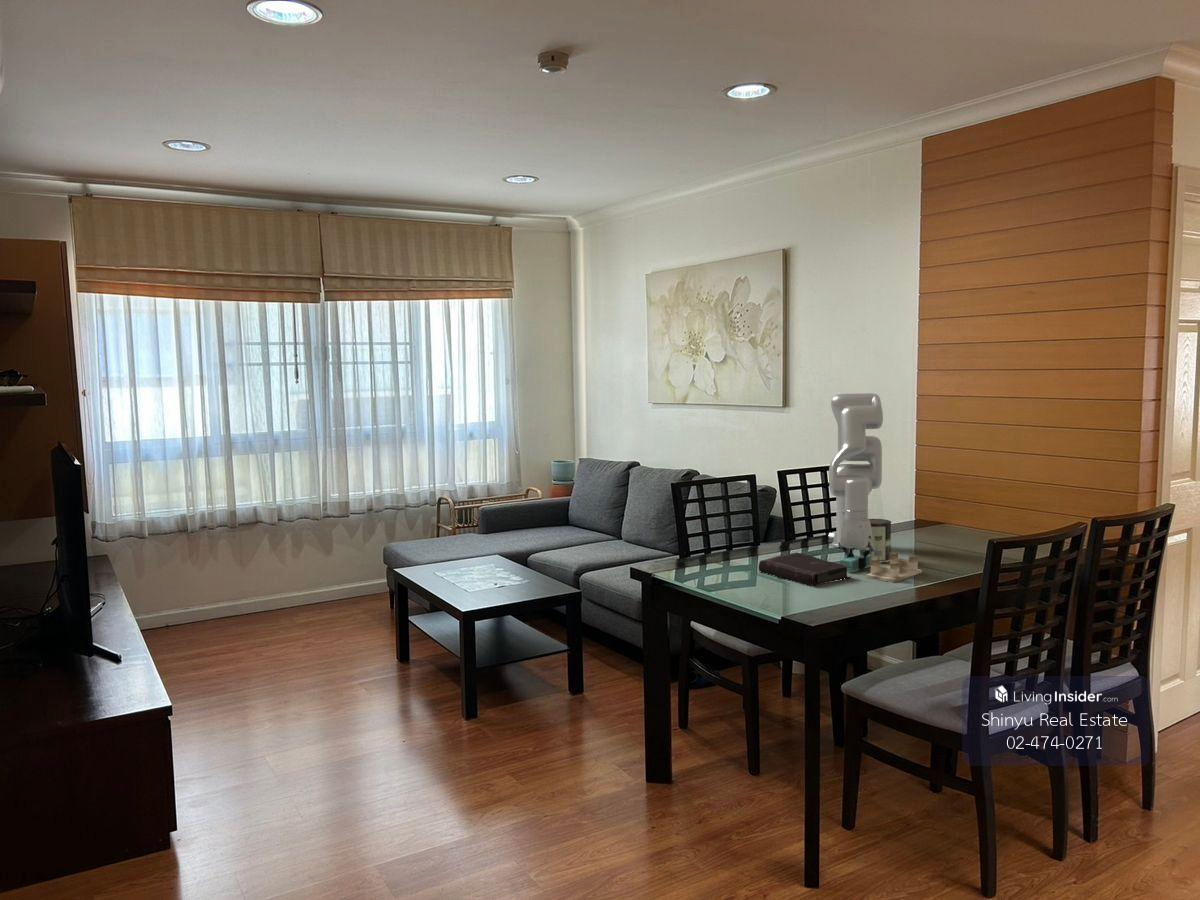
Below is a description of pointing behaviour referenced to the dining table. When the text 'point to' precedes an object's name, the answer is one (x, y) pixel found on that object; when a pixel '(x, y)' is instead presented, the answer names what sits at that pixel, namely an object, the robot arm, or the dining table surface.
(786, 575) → the diary
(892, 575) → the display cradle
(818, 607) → the dining table surface
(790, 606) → the dining table surface
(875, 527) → the coffee can
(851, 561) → the teal rectangular block
